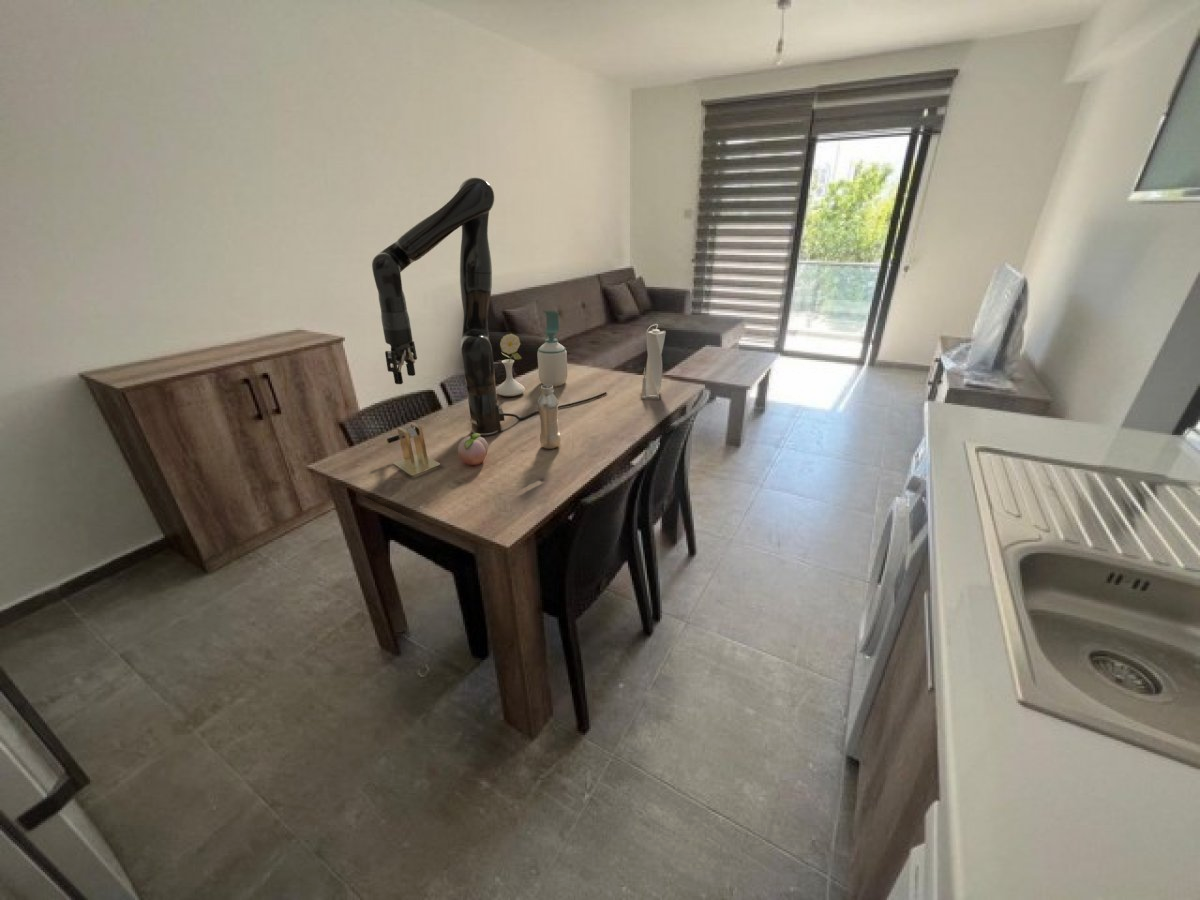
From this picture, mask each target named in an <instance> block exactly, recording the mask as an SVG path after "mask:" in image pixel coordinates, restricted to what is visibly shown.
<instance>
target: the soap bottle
mask: <svg viewBox="0 0 1200 900" xmlns="http://www.w3.org/2000/svg"><path fill="white" fill-rule="evenodd" d="M542 313H544V314H545V318H546V329H545V330H544V331H543V334H546V336H547V337H548V338H546V339H544V341H545V342H544V343H542V345H540V347H538V349H537V352H536V354H537V356H536V357H537V369H538V371H537V372H538V379H539V381H540V383H541V385H552V386H553V388H554V387H556V388H557V387H560V386H563V385H564V384H565V383H566V382H567V379H568V355H567V354H568V352H567V350H566V349H567V348H566V347H565V346H564V345H563V344H561V343H559V342H558V338H556V337H555V336H556V334H557V333H558V332H559V331H560V318H559V312H558V311H556V310H542Z"/></svg>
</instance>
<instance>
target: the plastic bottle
mask: <svg viewBox="0 0 1200 900" xmlns="http://www.w3.org/2000/svg"><path fill="white" fill-rule="evenodd" d="M554 391H555V390H554V387H553V386H552V385H544V384H542V385H541V386H540V393H541V395H540V396H539V398H538V400H537V404H536V405H537V411H539V413H538V414H539V419H540V434H539V442H540V445H541V446H542V447H543V448H544V449H547V450H548V449H550V450H551V449H555V448H557V447H559V445H560V444H561V434H560V429H559V423H558V422H559V420H558V419H559V417H558V414H559V408H558V406H559V400H558V398H557V397H556V395H555V394H554Z"/></svg>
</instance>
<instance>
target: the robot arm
mask: <svg viewBox="0 0 1200 900" xmlns="http://www.w3.org/2000/svg"><path fill="white" fill-rule="evenodd" d="M494 203H495V193H494V189H493V187H492V186H491V185H490V183H488V181H486V180H485V179H483V178H480V177H475V176H474V177H471V178H468V179H466V180H464V181H463V182H462V183H461V184H460V186H459V188H458V191H457V192H456V193H455V194H454V195H453V197H451V199H450V200H449V201H447V202H446V203H445V204H444V205H443V206H442V207H440V208H439V209H438V210H437V211H435V212H433V213H432V214H430V215H429V216H427V217H426V218H424V219H422V220H421V221H419V222H418V223H416V224H415V225H414V226H412V227H411V228H410V229H409V230H407V231H406V232H405V233H404V234H402V235H401V236H400V237H399V238H398V239H397V240H396V241H395V242H393V243H391V244H390V245H389V246H387V247H386V248H384V249H383V250H381V251H380V252H379V253H377V254H376V255H375V256H374V258H373V259H372V261H371V269H372V274H373V278H374V281H375V282H374V283H375V286H376V290H377V294H378V302H379V303H378V304H379V309H380V317H381V325H382V330H383V335H384V341H385V343H386V344H387V345H389V346H390V350H385V352H384V354H385V362H386V368H387V372H390V373H392V374H393V380H394V384H395V385H403V384H404V380H403V373H402V366H404V365H405V366H406V372H407V373H406V374H407V375H408V376H411V377H414V376H416V370H415V369H416V368H415V363H416V360H417V359H418V356H417V351H416V345H415V341H414V340H413V339H414V338H413V334H412V328H411V322H410V316H409V313H408V308H407V301H406V296H405V293H404V291H403V283H402V282H403V281H402V276H401V275H402V274H401V273H402V272H403V271H404V270H405V269H406V268H408V267H409V266H410V265H411V264H412V263H415V262H417V261H418V260H420V259H422V258H423V257H424V256H425V255H427V254H428V253H429V252H431V251H432V250H434V248H436V247H437V246H438V245H439V244H441V243H442V242H443V241H444V240H445V239H446V238H447V237H449V236H450V235H451V234H452V233H453V232H455V231H456V230H458V229H459V228H460V227H461V240H460V241H461V242H460V253H459V257H460V258H459V286H460V287H459V288H460V297H461V304H462V311H463V312H462V313H463V318H462V319H463V320H462V333H461V340H460V351H461V358H462V365H463V372H464V379H465V386H466V393H467V401H468V407H469V408H468V409H469V415H470V418H469V423H471V424H470V425H471V432H472V434H475V433H478V434H481V435H480V437H487V436H492V435H496V434H498V433H501V432H502V425H501V422H505V417H514V418H516V420H519V421H522V420H526V419H528V418H530V417H532V416H534V415H536V414H539V410H536V411H533V412H531V413H529V414H527V415H525V416H523V417H519V416H518V415H517V414H515V413H507V412H506V413H505V412H504V411H503V408H501V407H499V403H498V396H497V388H496V377H495V364H494V353H493V347H492V344H491V341H490V335H489V322H488V321H489V319H488V316H489V315H488V314H489V308H490V302H491V297H492V286H493V284H492V283H493V269H492V255H491V250H490V244H489V243H490V242H489V234H488V233H489V218H490V217H489V216H490V211H491V210H492V208H493V206H494ZM405 363H406V364H405ZM607 394H608V393H607V392H606V391H605V392H603V393H600V394H597V395H595V396H591V397H589V398H586V399H582V400H578V401H575V402H571V403H566V404H561V405H558V409H562V408H567V407H570V406H574V405H578V404H583V403H586V402H590V401H591V400H594V399H597V398H600V397H602V396H605V395H607Z"/></svg>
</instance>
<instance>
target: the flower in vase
mask: <svg viewBox="0 0 1200 900" xmlns="http://www.w3.org/2000/svg"><path fill="white" fill-rule="evenodd" d="M520 340H521V339H520V337H519V336H517V335H515V334H513V333H510V334H509V333H508V334H506V335H503V336H502V338H501V339H500V342H499V346H500V349H501V352H500V353H501V354H502V355H503V356H504V357H507V359H503V360H501V363H502V364H503V366H504V369H505V375H506V378H505V380H504V381H503V382H502V383H501V384H499V386H498V387H497V388H496V394H498V395H499V396H503V397H516V396H520V395H522V394H523V393H524V392H525V390H526V388H525V387H524V385H523V384H522V383H519V381H517V380H515V379H514V377H513V365H514V363H515V360H517V361H518V360H522V359H523V357H522V356H521V354H519V353H518V349H519V348H520V346H521V342H520ZM509 355H511V356H509ZM508 358H509V359H508Z"/></svg>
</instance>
